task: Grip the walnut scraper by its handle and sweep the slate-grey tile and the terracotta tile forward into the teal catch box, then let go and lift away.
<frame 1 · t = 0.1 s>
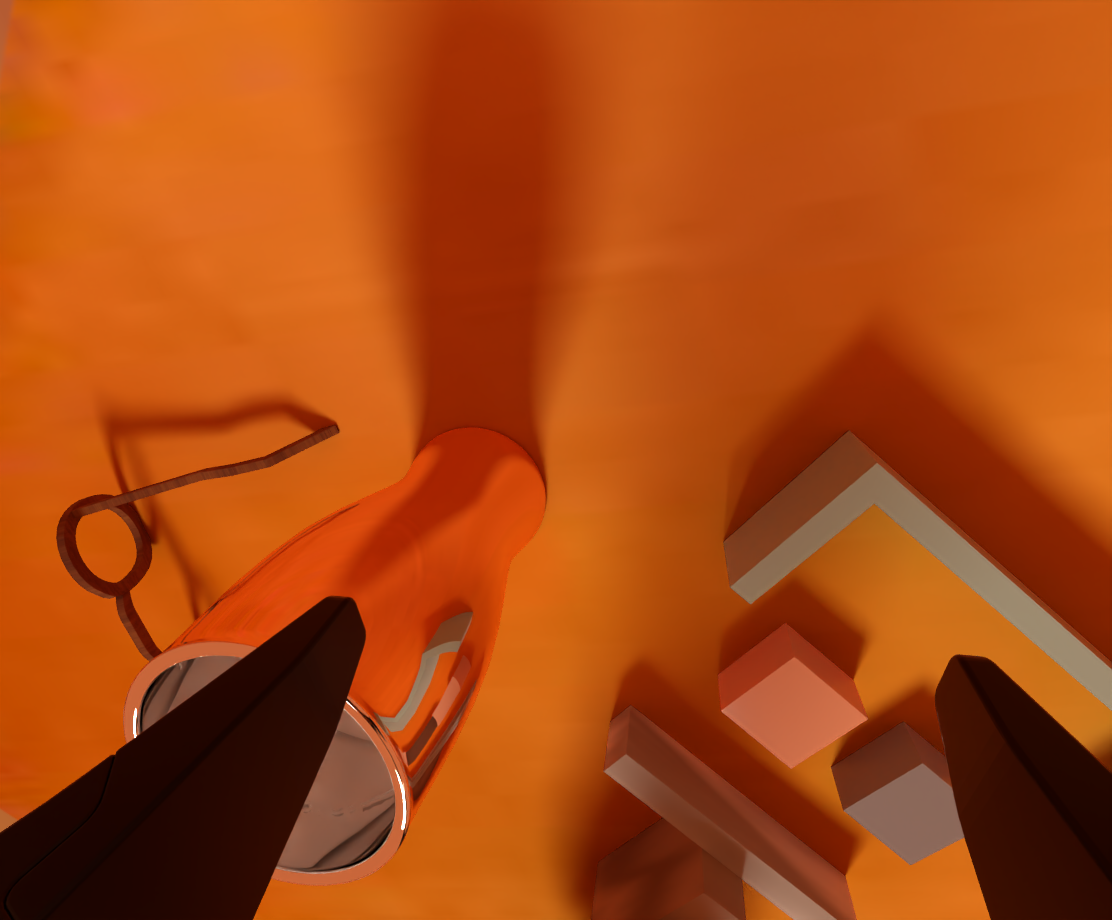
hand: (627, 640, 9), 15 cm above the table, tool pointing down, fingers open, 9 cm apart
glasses: (284, 570, 31), on the table
terracotta tile: (783, 674, 27), on the table
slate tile: (896, 767, 28), on the table
catch box: (964, 644, 25), on the table
scraper: (692, 822, 31), on the table
beer glass: (479, 491, 27), on the table
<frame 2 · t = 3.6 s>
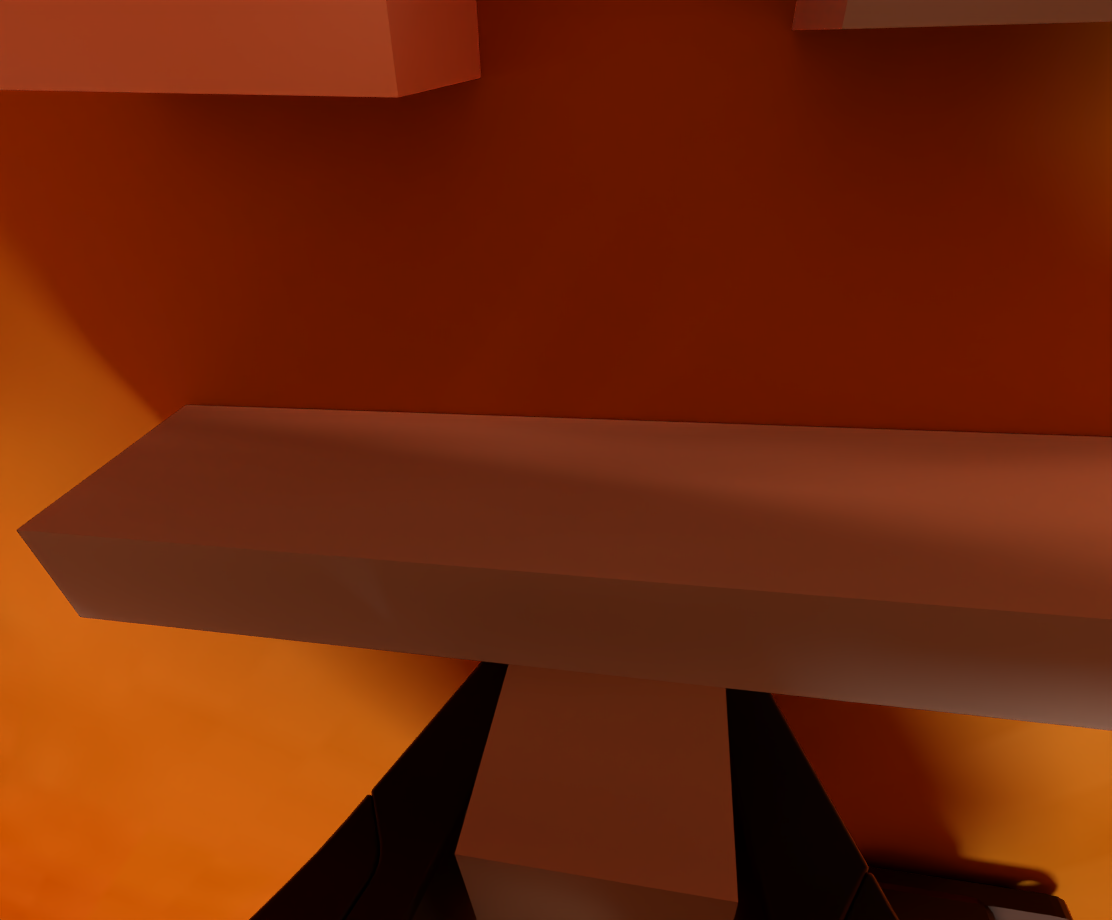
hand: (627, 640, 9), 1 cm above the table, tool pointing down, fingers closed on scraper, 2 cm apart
scraper: (632, 590, 10), on the table, touching gripper
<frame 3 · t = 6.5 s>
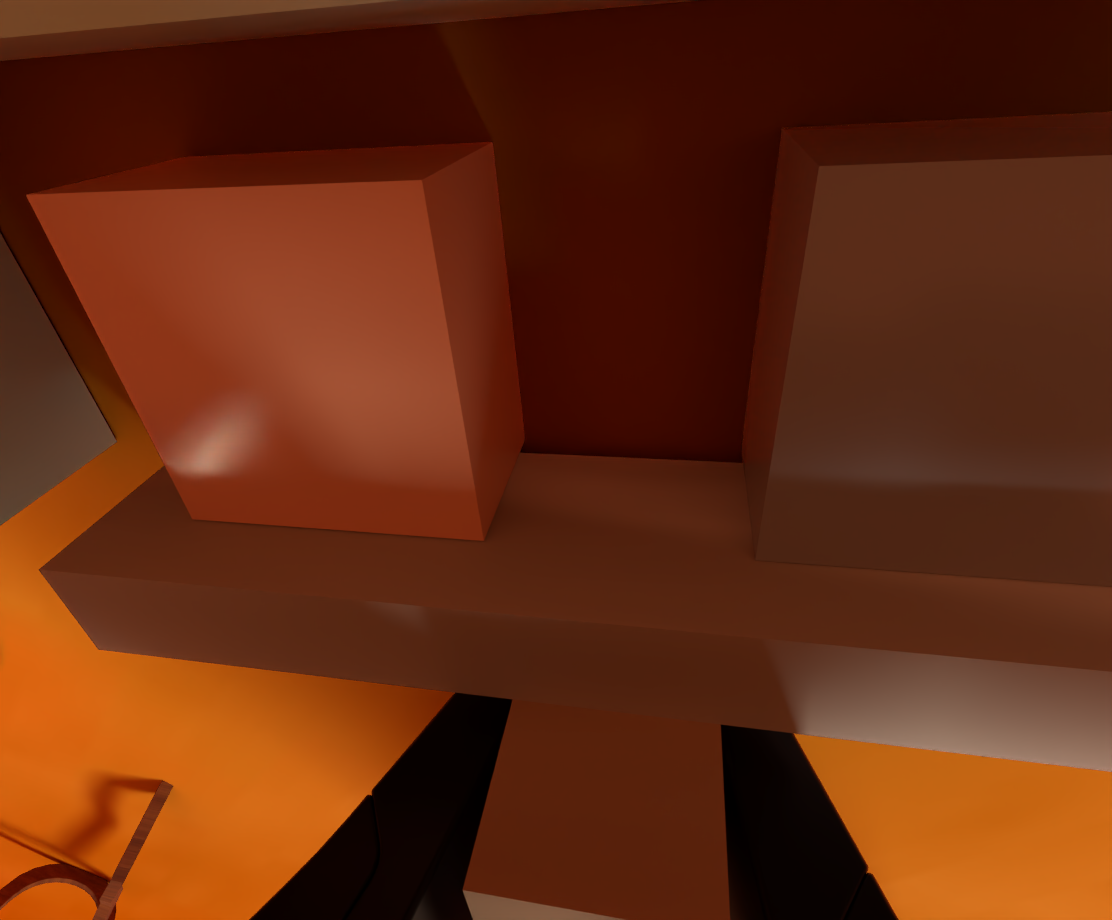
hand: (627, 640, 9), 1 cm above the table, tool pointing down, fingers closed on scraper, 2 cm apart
terracotta tile: (377, 305, 9), on the table
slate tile: (930, 305, 7), on the table
catch box: (637, 242, 7), on the table
scraper: (631, 616, 10), on the table, touching gripper
when the fingers open (1 cm above the table, at t = 7.2 s): scraper stays where it is, on the table.
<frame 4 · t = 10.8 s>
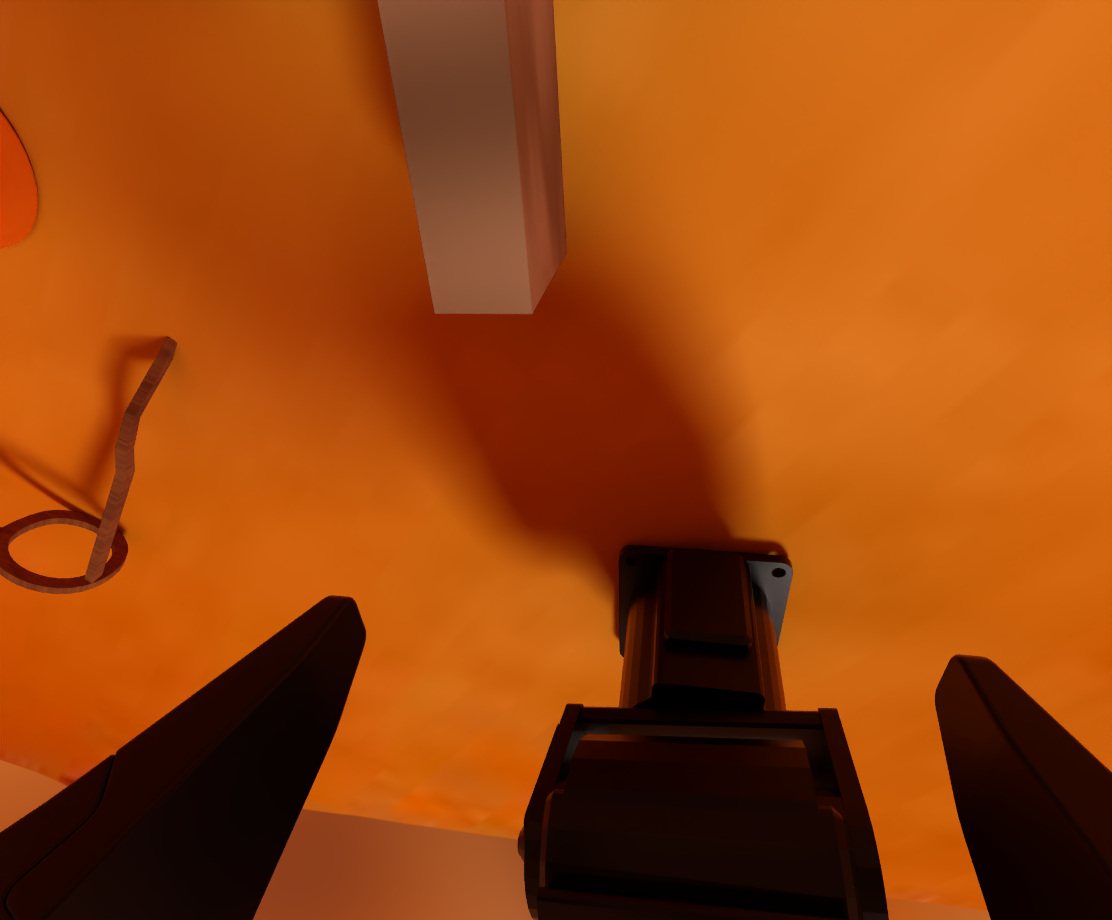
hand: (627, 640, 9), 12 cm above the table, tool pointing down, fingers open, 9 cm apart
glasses: (24, 376, 26), on the table, touching beer glass
scraper: (505, 6, 15), on the table
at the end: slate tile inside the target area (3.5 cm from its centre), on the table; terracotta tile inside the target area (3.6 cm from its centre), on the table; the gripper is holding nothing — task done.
